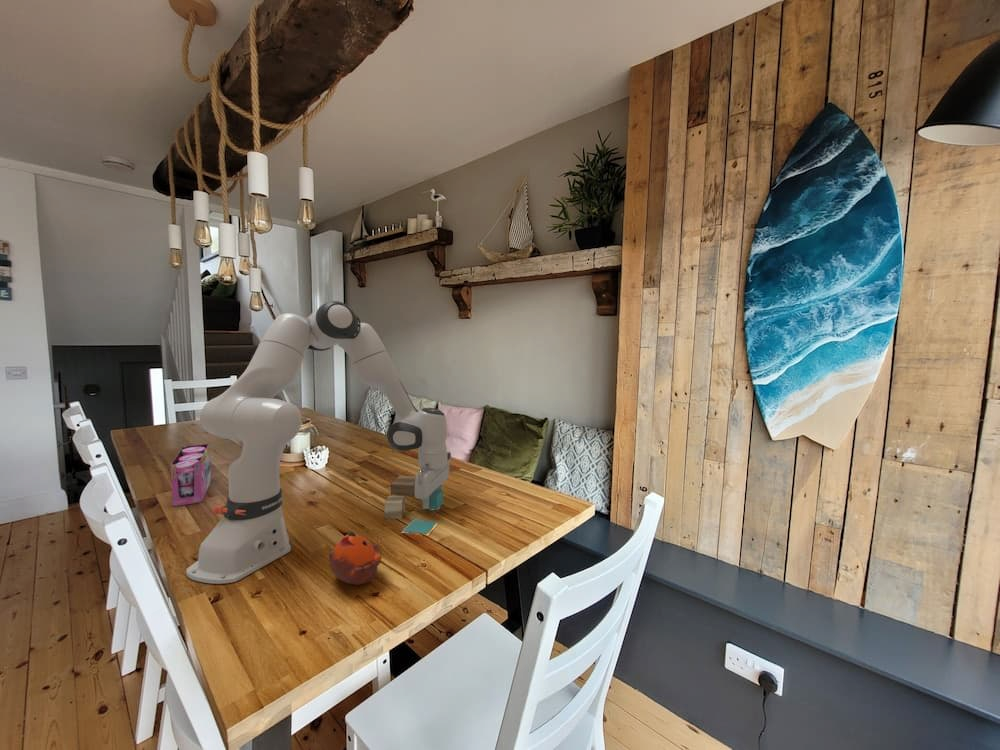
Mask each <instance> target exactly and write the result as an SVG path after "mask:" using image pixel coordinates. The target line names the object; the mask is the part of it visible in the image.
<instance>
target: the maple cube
mask: <svg viewBox="0 0 1000 750" xmlns="http://www.w3.org/2000/svg"><path fill="white" fill-rule="evenodd" d="M405 496H406V495H388V496H387V497H386V499H385V502H384V519H402V518H403V517H402V516H404V514H405V512H406V505H405V504H406V498H405ZM404 511H405V512H404Z"/></svg>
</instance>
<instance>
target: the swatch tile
mask: <svg viewBox="0 0 1000 750" xmlns="http://www.w3.org/2000/svg"><path fill="white" fill-rule="evenodd" d="M413 519H414V520H412V521H410V523H408V525H407V526H406V527H404V529H403V530H402V531H401V534H402V533H409V532H411V533H422V534H423V533H424V534H427V533H428V532H429V531H430V530H431V529H432V528H433V526H434V525H435V524H436V523H437V522H438V521H432V520H431V521H430V520H422V519H415V518H413Z"/></svg>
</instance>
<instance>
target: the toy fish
mask: <svg viewBox="0 0 1000 750" xmlns="http://www.w3.org/2000/svg"><path fill="white" fill-rule="evenodd" d="M328 558H329V560H328V561H329V566H330V569H331V570H330V571H332V573H333V574H334V575H335V577H337V579H339V580H340V581H342V582H344V583H346V584H351V585H355V586H356V585H357V586H358V585H359V586H361V585H365V584H366V583H369V582H371V581H372V580H373V579H375V577H376V576H377V573H378V566H379V565H380V564H381V560H382V558H383V555H382V553H381V550H380V548H379V546H378V545H377V544H374V543H372V542H370V541H369V540H368V539H367V538H365V537H363V536H361V535H359V534H355V533H354V532H349V533H347V534H346V535H344V536H343V537H342V538H341V539H340V540H338V542H337V543H336V545H335V547H334V549H331V550H330V552H329V556H328Z"/></svg>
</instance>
